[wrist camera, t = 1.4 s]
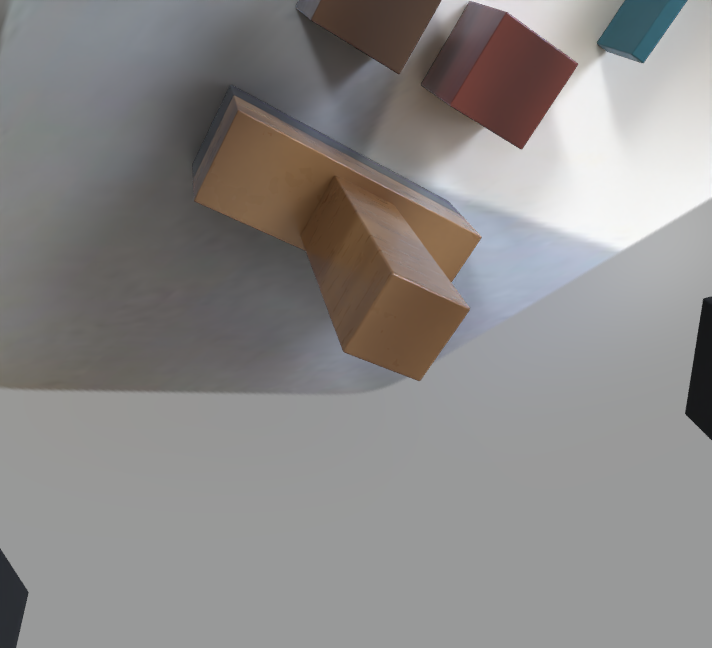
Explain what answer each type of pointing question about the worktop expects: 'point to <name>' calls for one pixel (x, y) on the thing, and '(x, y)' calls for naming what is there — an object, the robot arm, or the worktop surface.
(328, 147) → the wooden t-shaped block
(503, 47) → the mahogany block
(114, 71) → the worktop surface
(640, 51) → the teal u-shaped frame
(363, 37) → the walnut block
